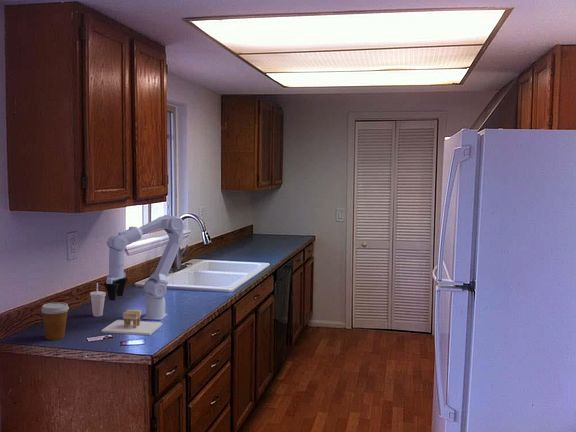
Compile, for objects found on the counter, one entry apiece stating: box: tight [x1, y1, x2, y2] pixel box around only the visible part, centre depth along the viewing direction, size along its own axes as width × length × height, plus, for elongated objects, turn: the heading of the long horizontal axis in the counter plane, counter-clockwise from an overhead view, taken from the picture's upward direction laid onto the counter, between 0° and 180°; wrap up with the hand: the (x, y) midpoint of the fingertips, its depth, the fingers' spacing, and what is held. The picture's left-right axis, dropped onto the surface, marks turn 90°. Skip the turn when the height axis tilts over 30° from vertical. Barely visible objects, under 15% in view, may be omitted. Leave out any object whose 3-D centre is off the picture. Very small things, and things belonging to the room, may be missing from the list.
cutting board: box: [101, 319, 163, 336], centre depth 219 cm, size 15×19×1 cm
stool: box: [122, 309, 142, 328], centre depth 219 cm, size 5×5×6 cm
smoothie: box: [89, 282, 107, 318], centre depth 236 cm, size 6×6×14 cm
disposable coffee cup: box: [40, 302, 70, 341], centre depth 204 cm, size 10×10×12 cm
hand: (116, 298), depth 224 cm, fingers open, 7 cm apart
